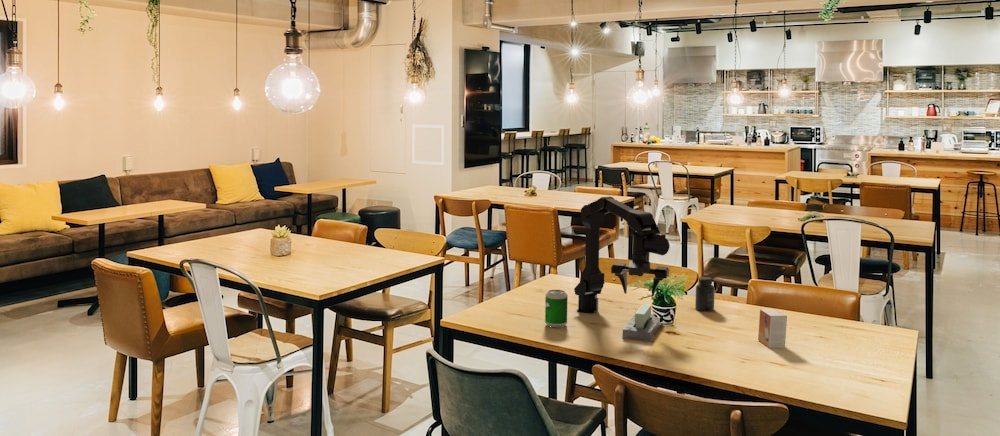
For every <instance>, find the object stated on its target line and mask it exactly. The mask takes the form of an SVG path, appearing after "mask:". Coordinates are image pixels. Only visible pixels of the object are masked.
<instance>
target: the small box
mask: <svg viewBox="0 0 1000 436" xmlns="http://www.w3.org/2000/svg"><path fill="white" fill-rule="evenodd" d="M758 321H759V322H758V335H757V336H758V338H757V341H758V342H760V343H762V344H763V345H764V346H766V348H768V349H776V348H777V349H780V348H781V349H782V348H786V341H787V339H786V338H787V325H788V324H787V323H788V322H787V321H788V316H787V315H786V314H784V313H782V312H781V311H780V310H778V309H777V308H776V309H774V308H770V309H769V308H767V309H766V308H765V309H763V308H762V309H760V310H759V320H758Z"/></svg>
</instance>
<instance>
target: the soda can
mask: <svg viewBox="0 0 1000 436" xmlns="http://www.w3.org/2000/svg"><path fill="white" fill-rule="evenodd" d="M544 304H545V311H544V312H545V313H544V314H545V315H544V319H545V320H544V322H545V324H546V325H547V327H549V326H551V327H550V328H552V327H562V328H564V327H565V326H566V325H567V324H568V293H566V291H565V290H562V289H550V290H547V292H546V293H545V303H544ZM563 326H564V327H563Z"/></svg>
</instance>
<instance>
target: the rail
mask: <svg viewBox="0 0 1000 436" xmlns="http://www.w3.org/2000/svg"><path fill="white" fill-rule="evenodd" d="M654 315H655V314H653V313H651V316H650V320H647V321H646V322H645V324H644V328H637V327H636V324H635V314H634V315H632V318H630V320H629V321H628V322H627V323H626V325H625V326H624V327H623V329H622V339H626V340H633V341H634V340H635V341H640V342H642V341H643V342H651V341H652V339H653V338H654V336H655V335H656V333H657V331H659V329H660V327H661V326H660V318H657V317H655V316H654Z"/></svg>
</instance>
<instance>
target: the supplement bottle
mask: <svg viewBox="0 0 1000 436" xmlns="http://www.w3.org/2000/svg"><path fill="white" fill-rule="evenodd" d="M715 290H716V289H715V286H714V285H713V278H712V277H711V276H710V277H709V276H700V277H699V278H698V284H697V285H696V286H695V299H694V301H695V305H694V307H695V310H696V311H699V312H713V311H714V310H715V294H716V293H715Z"/></svg>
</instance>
